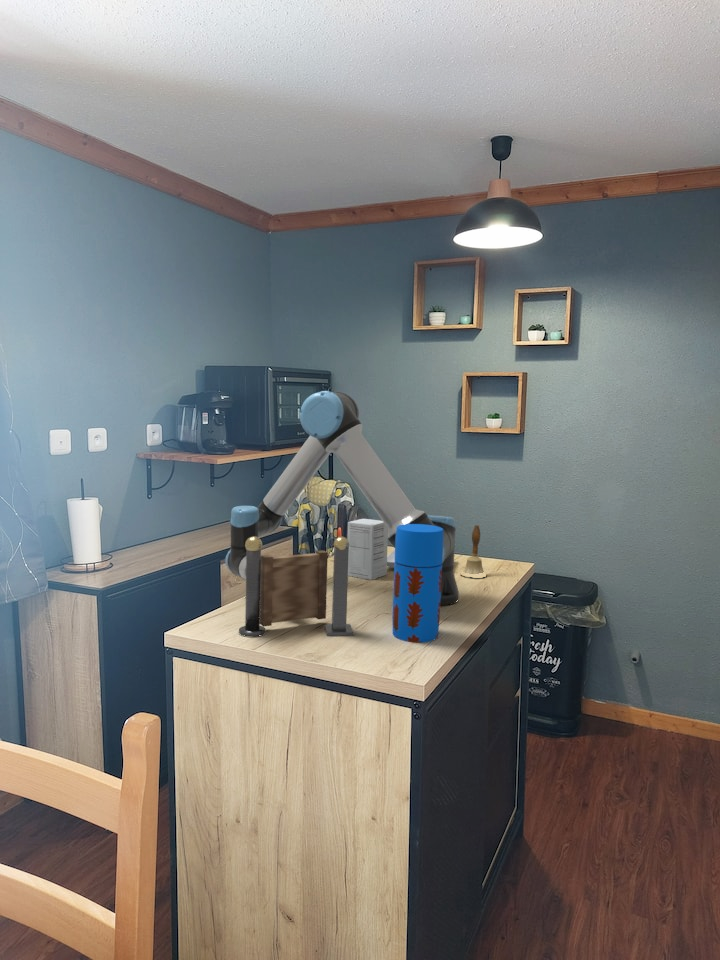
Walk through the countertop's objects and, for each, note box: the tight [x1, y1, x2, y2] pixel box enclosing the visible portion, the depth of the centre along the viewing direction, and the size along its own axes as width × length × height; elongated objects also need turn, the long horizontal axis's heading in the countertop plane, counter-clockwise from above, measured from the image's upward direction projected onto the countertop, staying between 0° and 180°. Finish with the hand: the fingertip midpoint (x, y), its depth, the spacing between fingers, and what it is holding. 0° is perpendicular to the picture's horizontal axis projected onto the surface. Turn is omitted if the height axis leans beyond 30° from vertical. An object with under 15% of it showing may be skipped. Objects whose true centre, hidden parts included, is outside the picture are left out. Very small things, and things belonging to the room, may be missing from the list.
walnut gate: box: [259, 550, 329, 628], centre depth 167 cm, size 16×2×16 cm, turn 119°
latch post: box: [324, 536, 354, 637], centre depth 164 cm, size 6×6×22 cm
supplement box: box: [346, 518, 389, 581], centre depth 219 cm, size 10×9×17 cm
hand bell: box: [462, 524, 485, 574], centre depth 224 cm, size 8×8×16 cm
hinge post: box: [238, 536, 267, 637], centre depth 162 cm, size 6×6×22 cm
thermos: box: [391, 524, 444, 643], centre depth 164 cm, size 11×11×25 cm
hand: (298, 592), depth 169 cm, fingers closed
